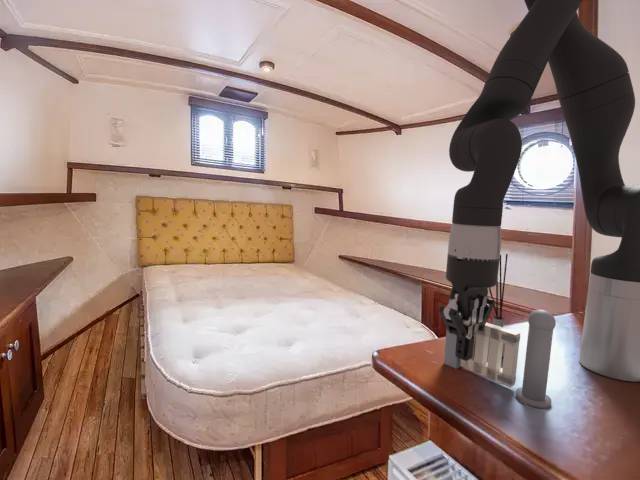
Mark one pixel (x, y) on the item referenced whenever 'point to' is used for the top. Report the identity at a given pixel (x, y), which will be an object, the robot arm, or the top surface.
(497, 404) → the top surface
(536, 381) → the hinge post
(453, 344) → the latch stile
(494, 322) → the reed diffuser
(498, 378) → the gate
